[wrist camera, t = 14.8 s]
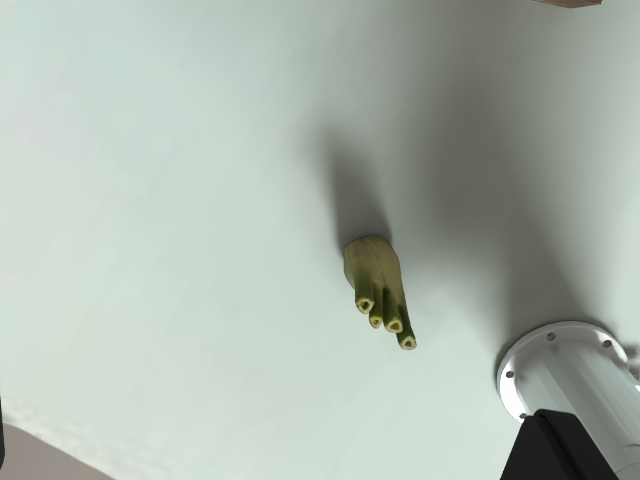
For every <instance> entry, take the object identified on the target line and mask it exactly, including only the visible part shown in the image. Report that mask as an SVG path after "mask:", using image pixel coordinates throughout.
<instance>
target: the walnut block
mask: <svg viewBox="0 0 640 480" xmlns="http://www.w3.org/2000/svg"><path fill="white" fill-rule="evenodd" d="M534 1H538V2H543V3H548V4H552V5H557V6H562V7H566V8H576V7H583V6H590V5H597V4H601V2H602V0H534Z"/></svg>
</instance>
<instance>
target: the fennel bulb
mask: <svg viewBox="0 0 640 480" xmlns="http://www.w3.org/2000/svg"><path fill="white" fill-rule="evenodd" d="M344 273H345V276H346V279H347V281H348V282H349V284H350V285H351V286H352V288H353V289H354V290H355V303H356V306H357V308H358V309H359V311H360V312H362V313H363V314H368V313H369V322H370V324H371V325H372V326H373V327H374V328H378V327H379V326H380V324H381V323H382V321H383V323H384V326H385V329H386V330H387V331H389V332H392V333H396V335H397V339H398V343H399V345H400V346H401V348H402V349H407V350H412V349H414V348H415V347H416V346H417V345H416V341H415V336H414V333H413V330H412V328H411V325H410V320H409V316H408V311H407V306H406V300H405V294H404V290H403V285H402V279H401V271H400V263H399V260H398V257H397V255H396V253H395V252H394V250H393V248H392V246H391V245H390V244H389V242H388V241H387V240H385V239H383V238H381V237H379V236H367V237H365V238H359V239H356V240H354V241H352V242H351V243H349V245H347V246H346V248H345V251H344Z"/></svg>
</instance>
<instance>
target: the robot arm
mask: <svg viewBox="0 0 640 480" xmlns="http://www.w3.org/2000/svg"><path fill="white" fill-rule="evenodd" d="M497 390H498V393H499V396H500V399H501V401H502V403H503V404H504V406H505V408H506V409H507V411H508V412H509V413H510V414H511V416H513V417H514V418H515V419H516V420H518V421H519V422H521V423H522V425H521V428H520V430H519V433H518V435H517V438H516V440H515V443H514V445H513V448H512V450H511V453H510V455H509V458H508V461H507V463H506V466H505V468H504V471H503V473H502V476H501V478H500V480H640V383H639V382H638V381H637V380H636V379H635V378H634V376H633V375H632V374H631V373H630V372H629V364H628V359H627V355H626V353H625V351H624V350H623V348H622V346H621V345H620V344H619V343H618V342H617V341H616V339H615V338H614V337H612V336H611V335H610V334H609V333H608V332H607V331H605V330H603V329H601V328H600V327H598V326H595V325H592V324H589V323H585V322H577V321H565V322H557V323H552V324H548V325H545V326H542V327H540V328H537V329H535V330H533V331H531V332H530V333H528V334H526V335H525V336H523V337H522V338H521V339H519V340H518V341H517V342H516V343H515V344H514V345H513V346H512V347H511V348H510V349H509V350H508V351H507V353H506V355H505V356H504V358H503V359H502V361H501V364H500V367H499V369H498V374H497ZM4 456H5V448H4V437H3V423H2V411H1V399H0V469H1V467H2V464H3V461H4Z"/></svg>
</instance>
